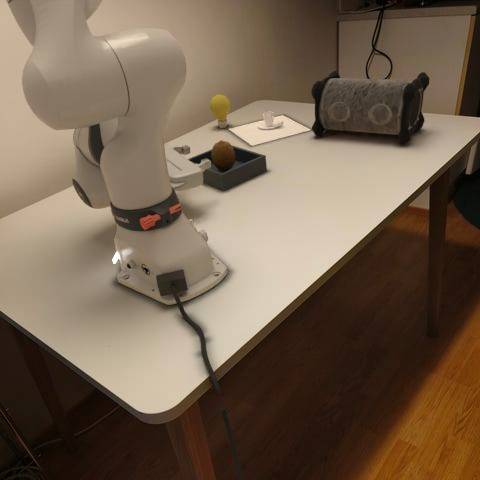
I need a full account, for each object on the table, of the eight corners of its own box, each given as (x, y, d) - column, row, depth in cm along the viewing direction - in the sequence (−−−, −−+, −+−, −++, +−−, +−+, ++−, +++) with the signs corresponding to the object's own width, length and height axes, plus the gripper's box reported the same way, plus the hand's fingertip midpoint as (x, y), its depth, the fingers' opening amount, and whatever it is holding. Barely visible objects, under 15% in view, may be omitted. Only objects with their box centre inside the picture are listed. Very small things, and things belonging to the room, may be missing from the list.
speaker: (331, 122, 143) (332, 68, 133) (424, 128, 129) (432, 70, 120) (310, 138, 134) (308, 83, 124) (407, 147, 120) (414, 86, 111)
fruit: (211, 169, 123) (206, 140, 118) (232, 164, 125) (228, 134, 119) (218, 177, 119) (213, 146, 114) (240, 171, 120) (236, 141, 115)
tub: (267, 170, 120) (265, 155, 117) (223, 190, 113) (221, 174, 111) (228, 157, 130) (226, 143, 128) (186, 175, 124) (183, 160, 121)
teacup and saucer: (287, 126, 145) (286, 113, 142) (264, 132, 143) (263, 119, 140) (275, 120, 151) (274, 107, 148) (253, 125, 149) (252, 112, 147)
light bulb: (211, 126, 155) (206, 94, 148) (229, 122, 156) (225, 90, 149) (216, 131, 150) (211, 99, 143) (235, 127, 151) (231, 94, 144)
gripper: (167, 177, 95) (222, 158, 100) (125, 143, 107) (176, 128, 112) (171, 203, 99) (223, 184, 104) (130, 169, 111) (179, 153, 117)
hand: (198, 155), depth 108 cm, fingers open, 8 cm apart
